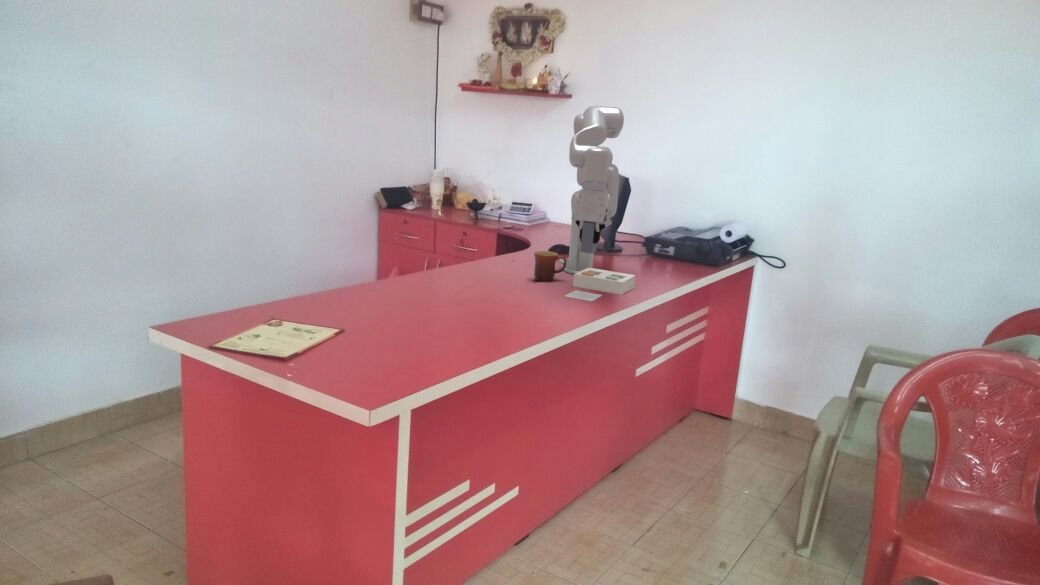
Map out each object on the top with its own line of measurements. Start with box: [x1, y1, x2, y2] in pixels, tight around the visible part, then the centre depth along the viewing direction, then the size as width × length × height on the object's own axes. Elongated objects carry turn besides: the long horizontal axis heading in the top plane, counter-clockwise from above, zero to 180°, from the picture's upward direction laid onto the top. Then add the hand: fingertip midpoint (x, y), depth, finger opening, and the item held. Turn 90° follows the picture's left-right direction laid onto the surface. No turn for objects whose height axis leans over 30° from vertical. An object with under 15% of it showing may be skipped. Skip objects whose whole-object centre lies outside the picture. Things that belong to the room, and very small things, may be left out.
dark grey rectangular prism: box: [580, 221, 598, 254], centre depth 235 cm, size 4×4×10 cm
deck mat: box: [564, 289, 603, 302], centre depth 239 cm, size 10×10×1 cm
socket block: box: [572, 267, 636, 296], centre depth 253 cm, size 18×14×6 cm
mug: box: [533, 250, 567, 283], centre depth 258 cm, size 12×9×10 cm
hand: (589, 241), depth 235 cm, fingers closed on dark grey rectangular prism, 4 cm apart
